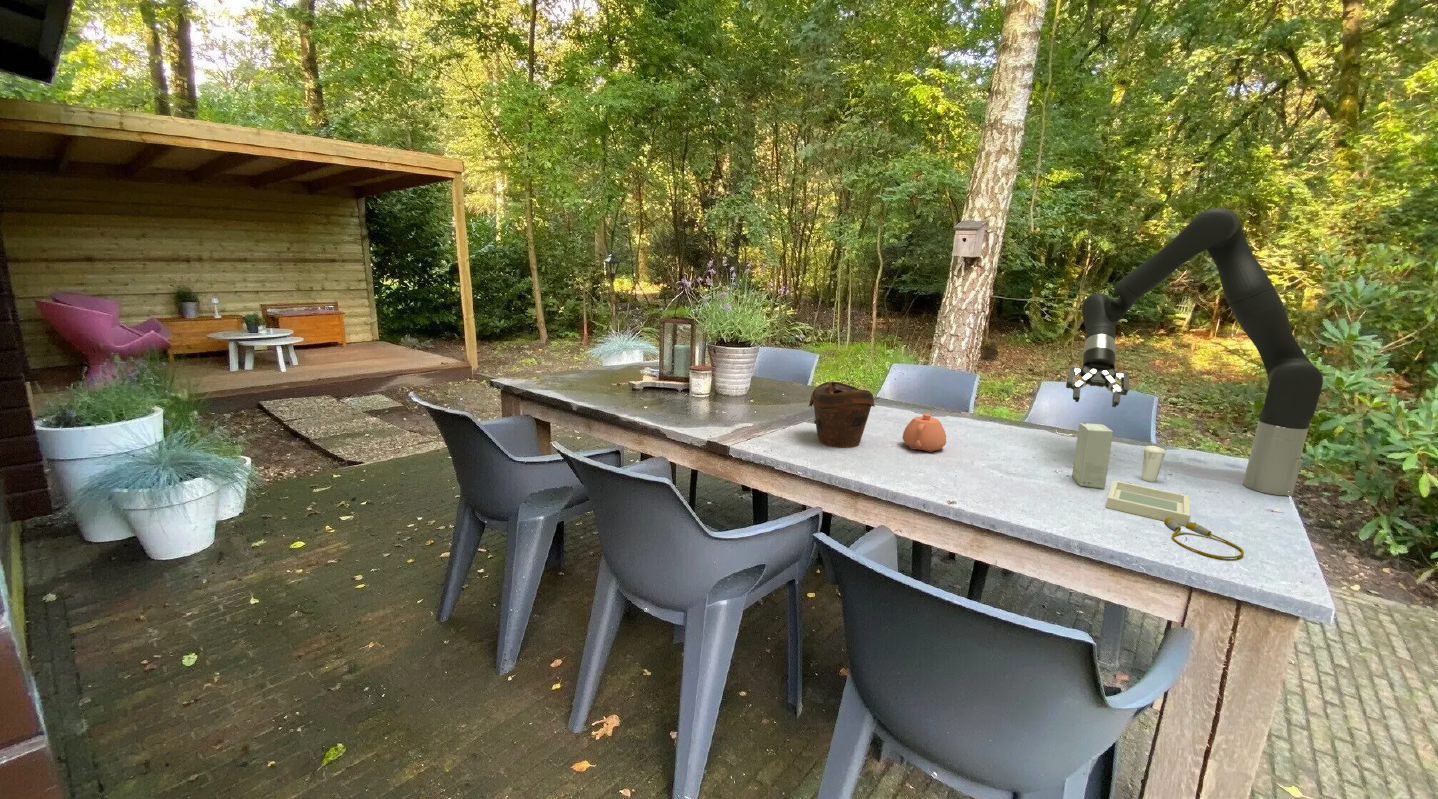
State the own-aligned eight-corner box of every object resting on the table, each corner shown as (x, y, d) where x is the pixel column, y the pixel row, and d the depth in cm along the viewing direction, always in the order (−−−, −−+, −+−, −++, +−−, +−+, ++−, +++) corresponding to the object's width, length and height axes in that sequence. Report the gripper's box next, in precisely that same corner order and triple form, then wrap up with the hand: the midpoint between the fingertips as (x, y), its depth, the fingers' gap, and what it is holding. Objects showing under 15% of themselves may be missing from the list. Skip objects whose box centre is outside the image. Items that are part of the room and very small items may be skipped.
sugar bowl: (949, 446, 180) (953, 413, 177) (938, 458, 168) (942, 423, 166) (908, 439, 186) (911, 407, 184) (894, 450, 174) (898, 416, 172)
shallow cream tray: (1186, 505, 140) (1189, 495, 140) (1187, 526, 129) (1190, 515, 128) (1111, 489, 149) (1113, 480, 148) (1105, 507, 137) (1107, 497, 137)
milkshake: (1166, 484, 154) (1174, 447, 152) (1143, 481, 155) (1150, 445, 153) (1157, 478, 159) (1165, 441, 156) (1135, 475, 160) (1142, 439, 157)
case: (821, 428, 194) (825, 374, 189) (880, 441, 183) (886, 383, 178) (794, 441, 180) (798, 383, 175) (856, 456, 169) (862, 394, 164)
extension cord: (1234, 538, 125) (1236, 529, 124) (1248, 569, 112) (1251, 559, 111) (1162, 523, 131) (1164, 514, 131) (1168, 550, 118) (1170, 541, 118)
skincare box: (1104, 489, 149) (1116, 432, 145) (1077, 486, 150) (1088, 429, 147) (1095, 478, 156) (1105, 423, 153) (1069, 475, 158) (1079, 421, 155)
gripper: (1072, 343, 166) (1067, 391, 159) (1133, 349, 160) (1131, 399, 153) (1067, 359, 172) (1062, 406, 165) (1125, 365, 166) (1123, 414, 159)
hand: (1095, 403), depth 159 cm, fingers open, 8 cm apart
